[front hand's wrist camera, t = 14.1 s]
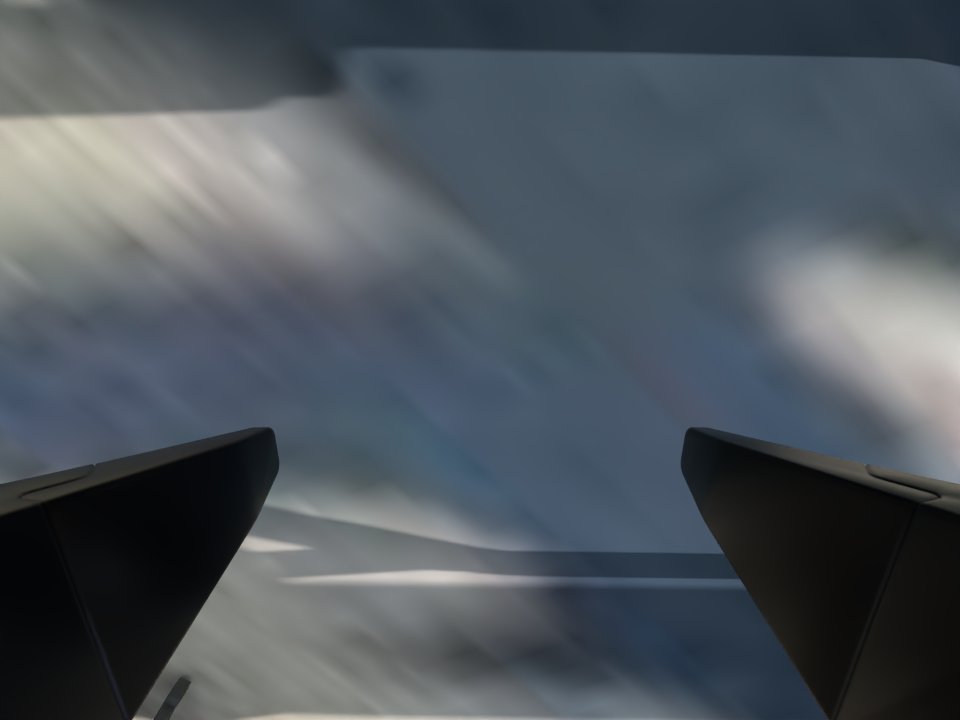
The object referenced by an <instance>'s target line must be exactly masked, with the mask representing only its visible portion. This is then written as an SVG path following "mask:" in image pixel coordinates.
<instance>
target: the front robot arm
mask: <svg viewBox="0 0 960 720" xmlns="http://www.w3.org/2000/svg"><path fill="white" fill-rule="evenodd" d="M278 470H279V457H278V451H277V445H276V439H275V434H274V431H273V430H272V429H271V428H269V427H262V428H249V429H245V430H241V431H236V432H232V433H228V434H223V435H219V436H215V437H210V438H206V439H202V440H197V441H193V442H189V443H184V444H180V445H176V446H171V447H167V448H163V449H158V450H154V451H150V452H145V453H141V454H137V455H132V456H128V457H124V458H119V459H115V460H111V461H107V462H102V463H98V464H96V465H95V466H94V465H92V464H91V465H86V466H82V467H77V468H73V469H69V470H64V471H60V472H55V473H51V474H46V475H42V476H37V477H32V478H28V479H23V480H18V481H14V482H9V483H4V484H0V720H132V719H133V718H134V716H135V714H136V713H137V711H138V710H139V708H140V706H141V705H142V703H143V702H144V700H145V698H146V697H147V695H148V694H149V692H150V690H151V689H152V687H153V685H154V684H155V682H156V681H157V679H158V677H159V676H160V674H161V673H162V671H163V669H164V668H165V666H166V665H167V663H168V661H169V660H170V658H171V657H172V655H173V653H174V652H175V650H176V648H177V647H178V645H179V644H180V642H181V640H182V639H183V637H184V636H185V634H186V632H187V631H188V629H189V628H190V626H191V624H192V623H193V621H194V620H195V618H196V616H197V615H198V613H199V612H200V610H201V608H202V607H203V605H204V603H205V602H206V600H207V599H208V597H209V595H210V594H211V592H212V591H213V589H214V587H215V586H216V584H217V583H218V581H219V579H220V578H221V576H222V575H223V573H224V571H225V570H226V568H227V567H228V565H229V563H230V562H231V560H232V558H233V557H234V555H235V554H236V552H237V550H238V549H239V547H240V546H241V544H242V542H243V541H244V539H245V538H246V536H247V534H248V533H249V531H250V530H251V528H252V526H253V524H254V523H255V521H256V519H257V517H258V515H259V513H260V511H261V509H262V507H263V504H264V502H265V500H266V498H267V496H268V493H269V491H270V489H271V487H272V485H273V482H274V480H275V478H276V476H277V473H278ZM681 470H682V473H683V476H684V478H685V480H686V482H687V485H688V487H689V489H690V491H691V493H692V496H693V498H694V500H695V502H696V504H697V507H698V509H699V511H700V513H701V515H702V517H703V519H704V521H705V523H706V524H707V526H708V528H709V530H710V531H711V533H712V534H713V536H714V538H715V539H716V541H717V542H718V544H719V546H720V547H721V549H722V550H723V552H724V554H725V555H726V557H727V558H728V560H729V562H730V563H731V565H732V566H733V568H734V570H735V571H736V573H737V575H738V576H739V578H740V579H741V581H742V583H743V584H744V586H745V587H746V589H747V591H748V592H749V594H750V595H751V597H752V599H753V600H754V602H755V603H756V605H757V607H758V608H759V610H760V611H761V613H762V615H763V616H764V618H765V620H766V621H767V623H768V624H769V626H770V628H771V629H772V631H773V632H774V634H775V636H776V637H777V639H778V640H779V642H780V644H781V645H782V647H783V648H784V650H785V652H786V653H787V655H788V657H789V658H790V660H791V661H792V663H793V665H794V666H795V668H796V669H797V671H798V673H799V674H800V676H801V677H802V679H803V681H804V682H805V684H806V685H807V687H808V689H809V690H810V692H811V693H812V695H813V697H814V698H815V700H816V702H817V703H818V705H819V706H820V708H821V710H822V711H823V713H824V714H825V716H826V718H827V719H828V720H960V484H956V483H951V482H946V481H942V480H937V479H932V478H928V477H923V476H918V475H914V474H909V473H905V472H900V471H896V470H891V469H887V468H883V467H878V466H874V465H869V464H868V465H866V466H865V465H864V464H862V463H858V462H854V461H849V460H845V459H841V458H836V457H832V456H828V455H823V454H819V453H815V452H810V451H806V450H802V449H797V448H793V447H789V446H784V445H780V444H776V443H771V442H767V441H763V440H758V439H754V438H750V437H745V436H741V435H737V434H732V433H728V432H724V431H719V430H715V429H711V428H698V427H691V428H689V429H688V430H687V431H686V434H685V439H684V445H683V451H682V457H681Z"/></svg>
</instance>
